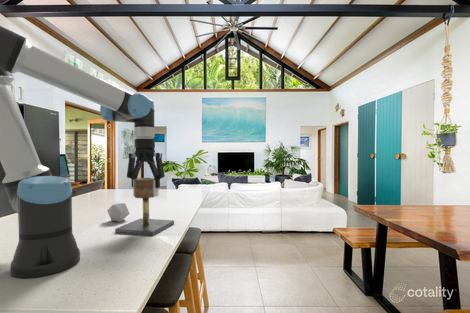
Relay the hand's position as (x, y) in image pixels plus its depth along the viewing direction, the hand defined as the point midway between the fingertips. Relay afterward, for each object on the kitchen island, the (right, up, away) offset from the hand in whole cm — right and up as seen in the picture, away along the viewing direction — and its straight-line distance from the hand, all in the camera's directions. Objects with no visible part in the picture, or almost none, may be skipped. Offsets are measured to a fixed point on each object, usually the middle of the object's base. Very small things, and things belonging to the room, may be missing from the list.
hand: (146, 195), depth 105 cm
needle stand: (0, -13, 0) cm, 13 cm away
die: (-16, -13, +13) cm, 24 cm away
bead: (0, 0, 0) cm, 0 cm away
